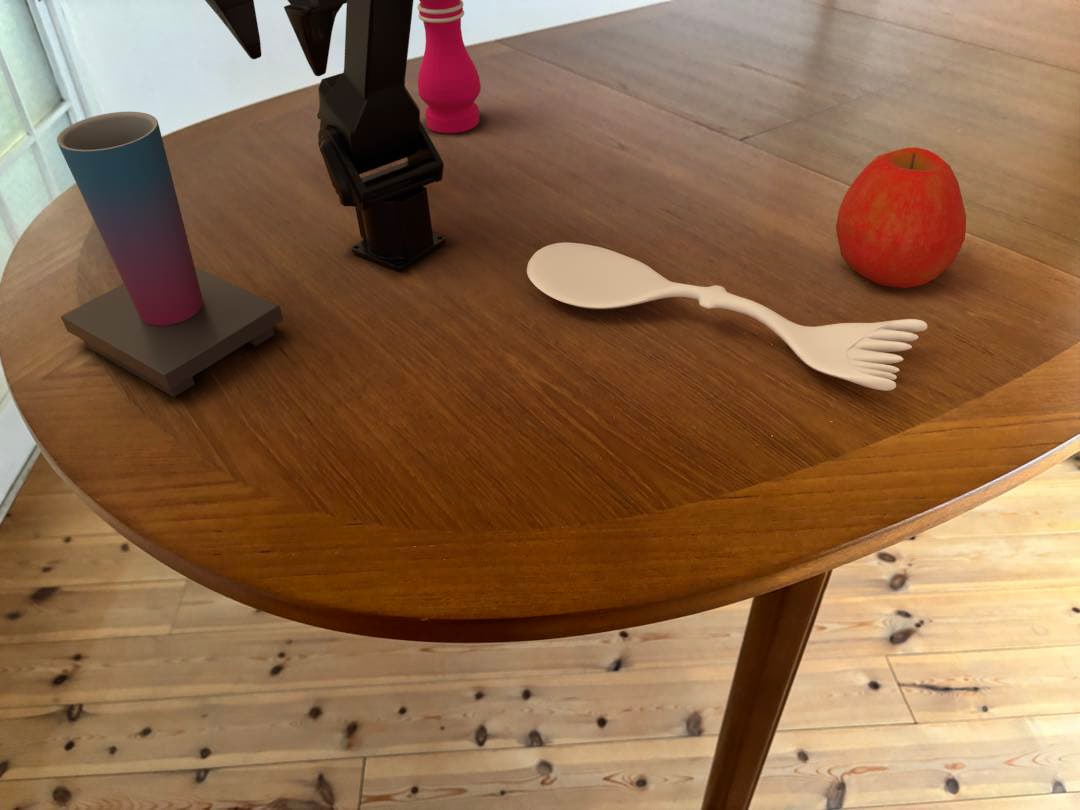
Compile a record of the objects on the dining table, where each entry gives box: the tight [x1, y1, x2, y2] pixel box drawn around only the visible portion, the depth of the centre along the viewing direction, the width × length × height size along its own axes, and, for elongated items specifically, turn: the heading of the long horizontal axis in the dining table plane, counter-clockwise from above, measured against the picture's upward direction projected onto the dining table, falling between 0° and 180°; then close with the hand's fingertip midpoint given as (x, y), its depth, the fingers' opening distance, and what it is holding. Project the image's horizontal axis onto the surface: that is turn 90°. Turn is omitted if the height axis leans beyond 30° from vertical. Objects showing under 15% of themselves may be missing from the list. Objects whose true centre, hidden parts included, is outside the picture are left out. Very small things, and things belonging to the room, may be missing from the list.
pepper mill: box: [417, 0, 482, 134], centre depth 102 cm, size 7×7×20 cm
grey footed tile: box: [60, 266, 284, 398], centre depth 75 cm, size 14×11×3 cm
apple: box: [835, 146, 967, 289], centre depth 76 cm, size 10×10×10 cm
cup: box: [56, 111, 203, 325], centre depth 69 cm, size 7×7×15 cm
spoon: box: [526, 242, 928, 392], centre depth 73 cm, size 9×32×4 cm, turn 58°
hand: (287, 66), depth 88 cm, fingers open, 9 cm apart
